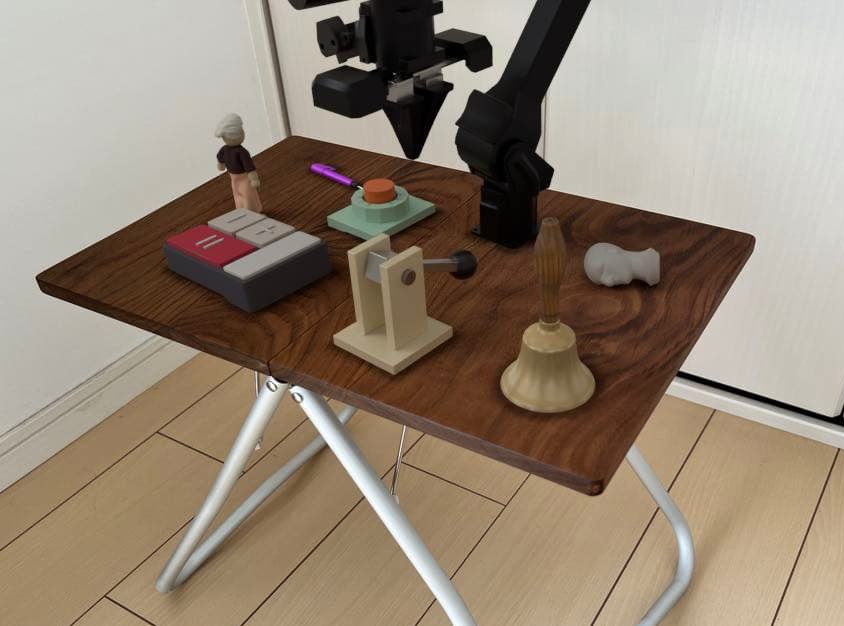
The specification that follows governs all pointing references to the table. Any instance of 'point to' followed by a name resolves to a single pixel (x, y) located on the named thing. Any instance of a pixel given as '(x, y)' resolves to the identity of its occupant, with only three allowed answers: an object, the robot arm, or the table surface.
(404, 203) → the button box
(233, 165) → the grandmother figurine
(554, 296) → the hand bell
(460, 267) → the lever
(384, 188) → the button
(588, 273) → the smooth white sculpture
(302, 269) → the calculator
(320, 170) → the purple fountain pen
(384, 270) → the bracket
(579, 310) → the table surface
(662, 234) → the table surface
